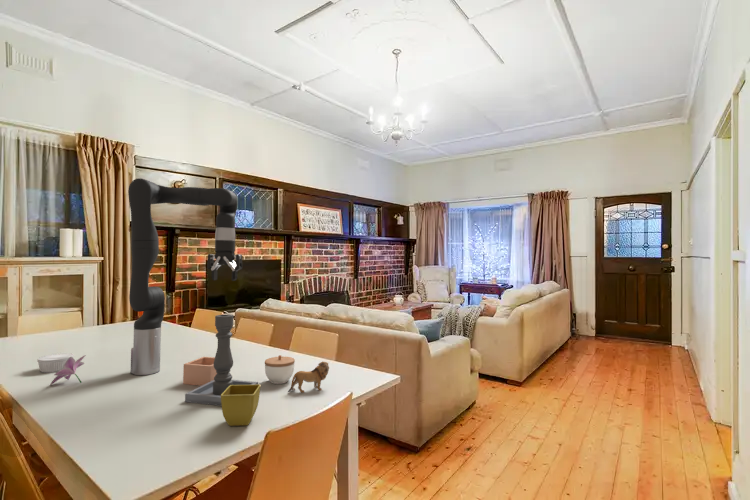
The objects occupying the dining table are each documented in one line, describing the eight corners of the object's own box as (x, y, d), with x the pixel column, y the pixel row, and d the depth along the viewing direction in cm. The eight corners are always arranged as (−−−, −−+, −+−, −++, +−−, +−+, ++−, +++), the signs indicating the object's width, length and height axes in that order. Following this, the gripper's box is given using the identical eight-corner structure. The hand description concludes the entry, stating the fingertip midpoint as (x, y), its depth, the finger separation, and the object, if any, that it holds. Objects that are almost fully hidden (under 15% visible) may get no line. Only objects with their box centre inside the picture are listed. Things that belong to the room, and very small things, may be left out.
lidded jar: (300, 379, 144) (300, 354, 144) (281, 387, 134) (282, 360, 134) (277, 375, 148) (277, 350, 148) (257, 383, 138) (258, 357, 139)
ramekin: (41, 375, 144) (41, 361, 145) (33, 370, 151) (34, 356, 151) (77, 369, 153) (77, 355, 153) (68, 364, 160) (69, 351, 160)
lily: (90, 378, 145) (77, 356, 145) (102, 371, 139) (88, 348, 139) (53, 397, 135) (39, 374, 135) (65, 390, 129) (50, 366, 128)
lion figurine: (325, 384, 138) (325, 359, 138) (331, 388, 134) (331, 362, 134) (285, 391, 130) (285, 364, 131) (290, 396, 126) (291, 368, 126)
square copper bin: (183, 383, 137) (183, 364, 137) (203, 374, 147) (203, 356, 147) (210, 386, 134) (210, 366, 134) (228, 377, 145) (229, 358, 145)
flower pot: (229, 416, 109) (229, 384, 110) (260, 415, 110) (261, 383, 110) (219, 429, 101) (220, 395, 101) (253, 429, 101) (254, 394, 102)
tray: (184, 401, 120) (185, 393, 120) (216, 385, 135) (216, 378, 135) (230, 406, 116) (230, 398, 116) (258, 389, 132) (258, 382, 132)
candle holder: (225, 396, 122) (227, 317, 123) (208, 394, 124) (210, 316, 124) (236, 389, 128) (238, 314, 129) (220, 388, 130) (221, 314, 130)
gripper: (203, 239, 151) (202, 280, 150) (235, 239, 148) (235, 281, 147) (215, 240, 158) (214, 279, 158) (246, 240, 155) (245, 280, 155)
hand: (224, 280), depth 153 cm, fingers open, 8 cm apart
